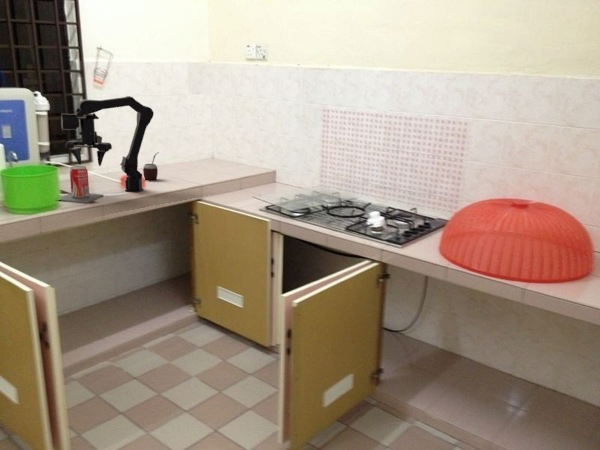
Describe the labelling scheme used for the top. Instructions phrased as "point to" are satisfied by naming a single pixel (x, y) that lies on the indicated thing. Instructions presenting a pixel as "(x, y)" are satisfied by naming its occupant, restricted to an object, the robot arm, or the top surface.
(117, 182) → the top surface
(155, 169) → the mate gourd
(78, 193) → the soda can
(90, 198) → the charcoal mat
